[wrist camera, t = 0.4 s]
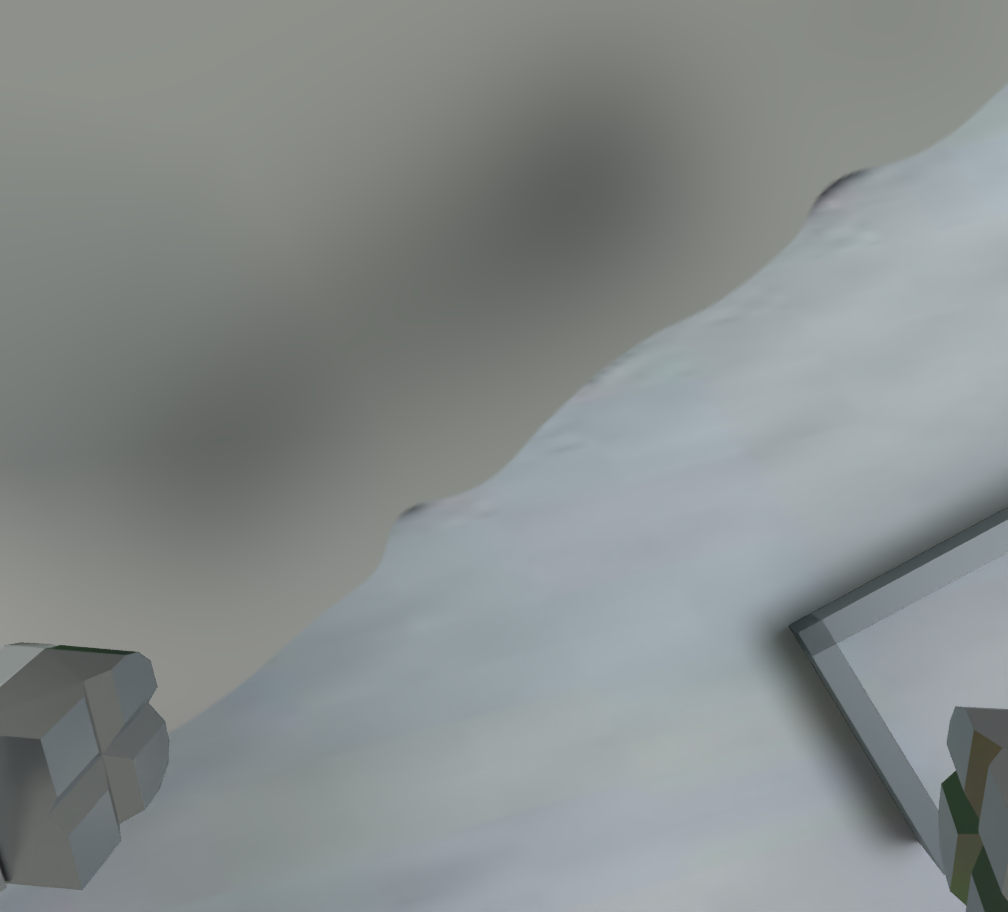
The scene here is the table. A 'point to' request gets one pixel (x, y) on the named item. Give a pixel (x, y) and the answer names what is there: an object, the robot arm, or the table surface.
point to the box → (868, 608)
